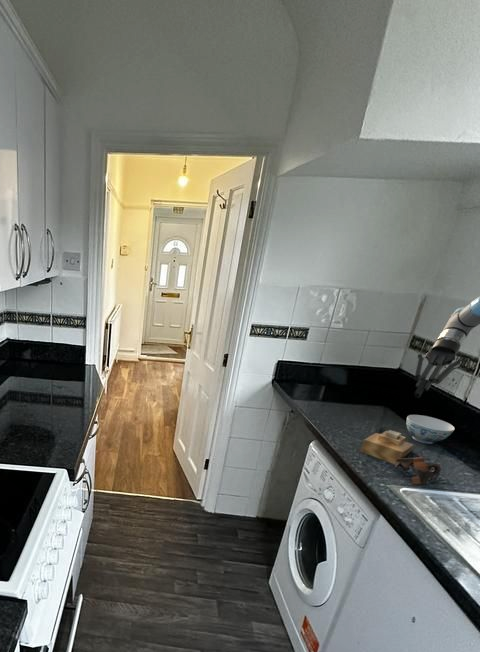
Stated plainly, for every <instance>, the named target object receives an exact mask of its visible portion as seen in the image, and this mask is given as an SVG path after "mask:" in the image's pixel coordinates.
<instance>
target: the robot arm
mask: <svg viewBox="0 0 480 652" xmlns="http://www.w3.org/2000/svg"><path fill="white" fill-rule="evenodd" d="M479 325H480V296H478V297H476V298H475V299H473V300H472V301H471V302H470V303H469V304H467V305H466V306H462V307H459V308H457V309H455V310H454V312H453V313H452V314H451V315H450V316H449V319H448V321H447V322H446V324H445V326H444V327H443V328H442V329H443V330H442V331H441V332H440V334H439V335H438V337H437V339H436V340H435V342H434V344H433V345H432V347H431V348H430V350H429V351H428V352H427V353H426V354H421V353H419V354H417V364H416V365H417V366H416V369H415V374H414V379H415V380H417V382H416V383H415V389H416V390H415V391H414V395H413V396H414V398H416V399H420V398H421V397H422V394H423V393H424V391H426V392H427V391H429V389H430V388H431V386H432V385H434V384H435V385H439V384H440V383H441V382H443V381H444V380H445V379H446V378H447V377H448V376H449V375H450V374H451V373H452V372H453V371H454V370H456V369H458V368H460V366H461V361H459V360H456V356H457V354H458V353H459V351H460V349H461V347H462V346H463V344H464V342H465V341H466V339H467V337H468V336H469V334H470V332H471V331H472V330H473V329H474V328H476V327H477V326H479ZM425 360H427V364H426V367H425V368H424V370H423V372H422V368H423V363H424V361H425ZM447 365H448V366H447ZM445 366H447V367H446V368H445V369H444V370H443V371H441V370H442V369H443V368H444V367H445ZM434 367H435V368H434ZM433 368H434V369H433ZM432 369H433V371H432ZM431 371H432V373H431ZM440 371H441V372H440ZM421 372H422V373H421ZM439 373H440V374H439ZM429 374H430V376H429ZM428 376H429V377H428ZM427 378H428V379H427Z"/></svg>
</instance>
